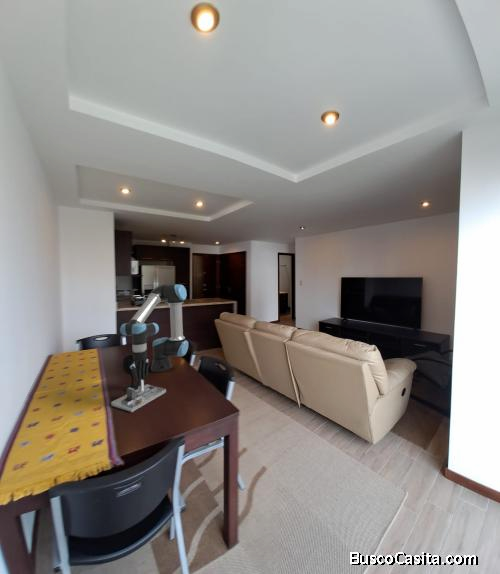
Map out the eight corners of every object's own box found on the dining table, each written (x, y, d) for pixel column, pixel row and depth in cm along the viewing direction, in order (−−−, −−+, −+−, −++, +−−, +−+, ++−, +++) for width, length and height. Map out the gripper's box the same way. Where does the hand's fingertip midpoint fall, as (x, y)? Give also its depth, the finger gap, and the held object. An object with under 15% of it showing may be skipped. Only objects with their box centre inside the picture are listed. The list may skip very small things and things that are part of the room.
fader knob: (130, 397, 135) (130, 387, 135) (135, 399, 133) (135, 388, 133) (126, 399, 133) (126, 388, 132) (131, 401, 131) (131, 390, 131)
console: (147, 387, 153) (146, 382, 153) (166, 392, 146) (165, 387, 146) (111, 405, 131) (111, 400, 131) (131, 412, 124) (131, 406, 124)
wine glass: (121, 392, 146) (120, 360, 145) (125, 385, 156) (124, 355, 155) (140, 390, 149) (139, 358, 148) (143, 383, 159) (142, 353, 158)
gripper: (144, 346, 146) (145, 384, 147) (125, 353, 134) (126, 394, 135) (153, 348, 142) (154, 387, 143) (134, 354, 131) (136, 397, 132)
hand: (141, 390), depth 139 cm, fingers closed
